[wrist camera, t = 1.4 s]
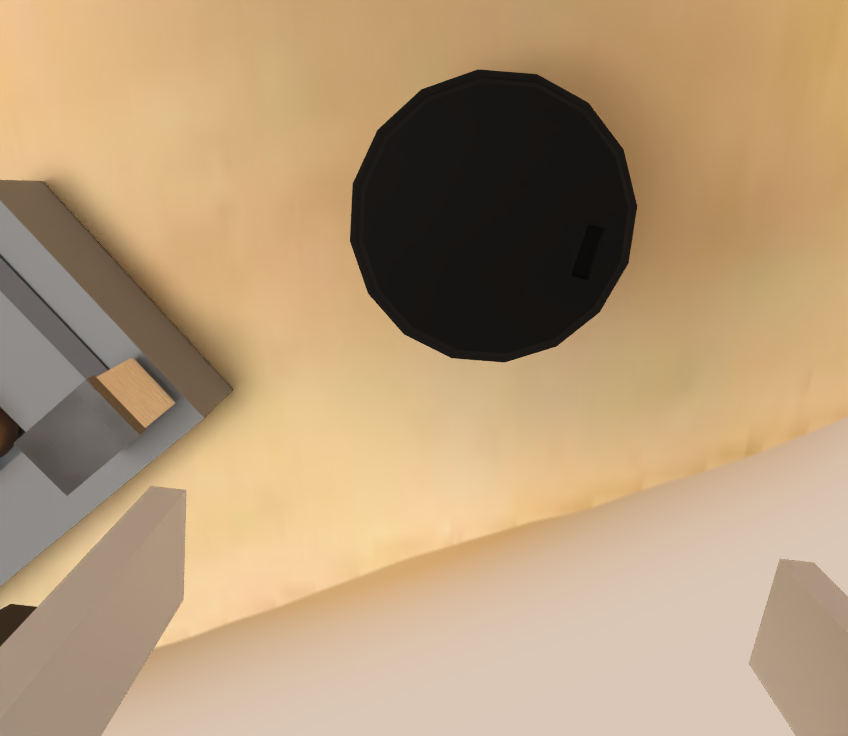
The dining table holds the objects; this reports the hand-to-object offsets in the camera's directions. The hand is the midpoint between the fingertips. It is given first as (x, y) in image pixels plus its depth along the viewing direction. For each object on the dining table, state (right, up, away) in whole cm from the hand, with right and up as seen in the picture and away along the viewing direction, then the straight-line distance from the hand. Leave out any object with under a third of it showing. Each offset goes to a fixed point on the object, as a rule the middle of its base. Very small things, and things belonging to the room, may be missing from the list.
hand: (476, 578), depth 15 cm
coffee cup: (+2, +13, +21) cm, 25 cm away
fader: (-16, +3, +19) cm, 25 cm away
